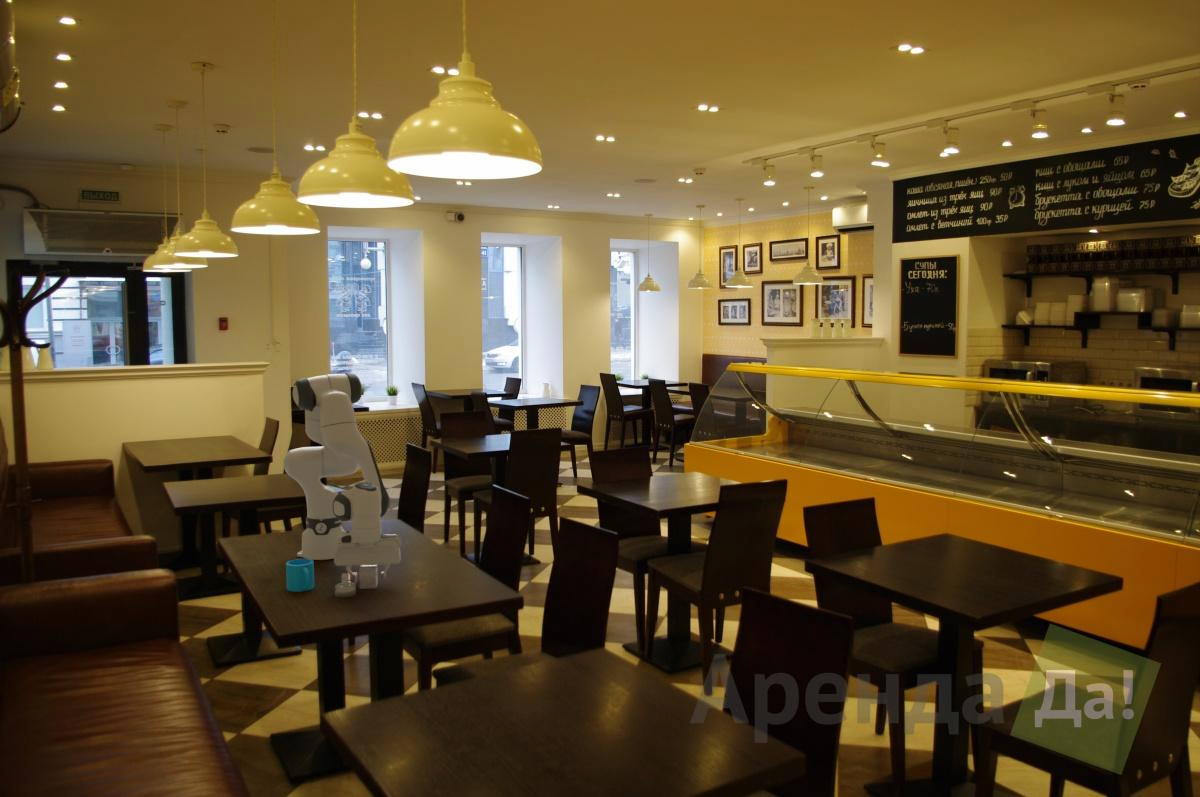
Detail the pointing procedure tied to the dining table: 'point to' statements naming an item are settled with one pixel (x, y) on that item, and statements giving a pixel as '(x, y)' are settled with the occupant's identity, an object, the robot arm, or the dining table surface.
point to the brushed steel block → (368, 576)
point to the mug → (300, 575)
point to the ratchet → (346, 586)
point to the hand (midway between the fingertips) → (368, 578)
